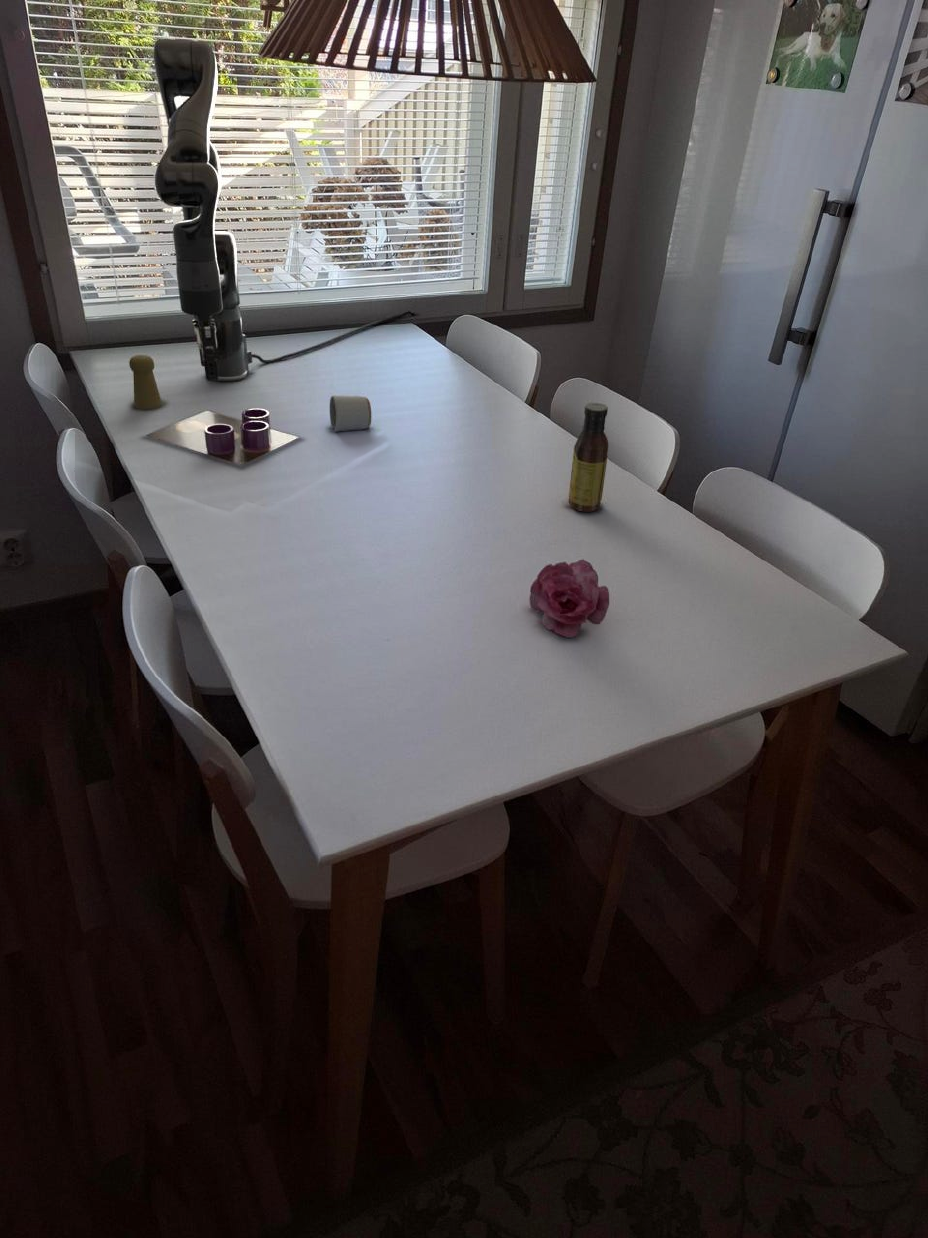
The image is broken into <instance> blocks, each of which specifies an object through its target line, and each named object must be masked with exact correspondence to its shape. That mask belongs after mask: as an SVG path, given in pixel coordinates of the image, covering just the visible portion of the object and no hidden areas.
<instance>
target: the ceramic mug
mask: <svg viewBox="0 0 928 1238" xmlns="http://www.w3.org/2000/svg"><path fill="white" fill-rule="evenodd" d="M329 421H330V426H331V427H335V428H334V429H333V431H334V432H348V431H362V430H366V429H369V428H370V426H371V424H372V406H371V402H370V399H369V398H368V397H366V396H363V395H337V394H335V395H334V394H333V395H331V396H330V399H329Z"/></svg>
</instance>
